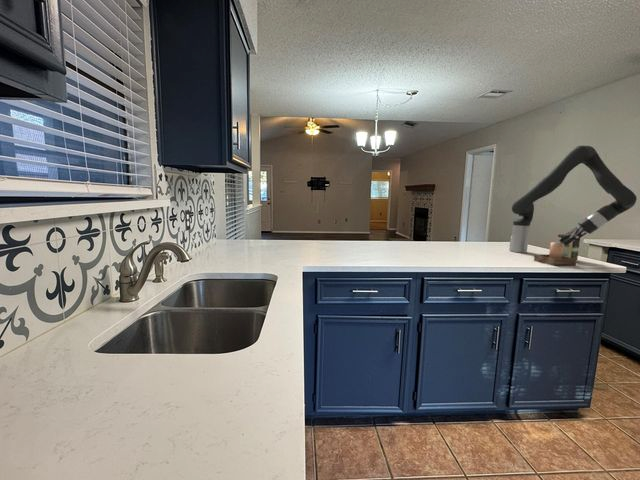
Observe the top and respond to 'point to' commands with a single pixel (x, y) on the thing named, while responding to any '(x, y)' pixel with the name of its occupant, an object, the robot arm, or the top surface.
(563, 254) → the coffee can
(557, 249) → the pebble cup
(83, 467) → the top surface
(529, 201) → the robot arm
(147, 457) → the top surface
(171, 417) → the top surface
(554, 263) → the walnut tray
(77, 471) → the top surface
